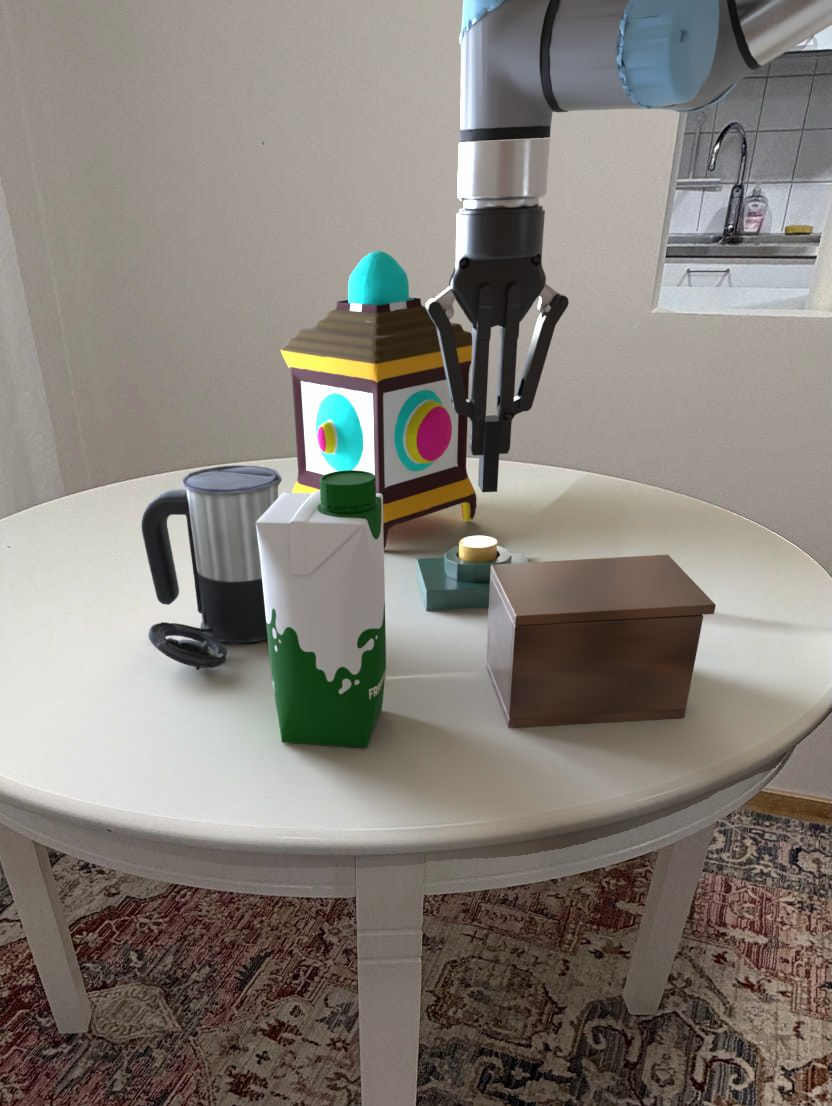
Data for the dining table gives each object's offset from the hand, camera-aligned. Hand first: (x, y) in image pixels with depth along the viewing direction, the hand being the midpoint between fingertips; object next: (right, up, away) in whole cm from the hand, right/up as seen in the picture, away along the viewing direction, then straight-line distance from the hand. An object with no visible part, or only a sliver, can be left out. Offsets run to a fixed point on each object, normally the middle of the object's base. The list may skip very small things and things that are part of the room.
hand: (487, 488), depth 95 cm
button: (0, -5, +6) cm, 8 cm away
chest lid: (+6, -15, -18) cm, 24 cm away
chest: (+6, -22, -12) cm, 27 cm away
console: (0, -8, +8) cm, 11 cm away
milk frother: (-26, -16, -1) cm, 31 cm away
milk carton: (-15, -26, -16) cm, 34 cm away
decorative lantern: (-10, +6, +28) cm, 31 cm away
